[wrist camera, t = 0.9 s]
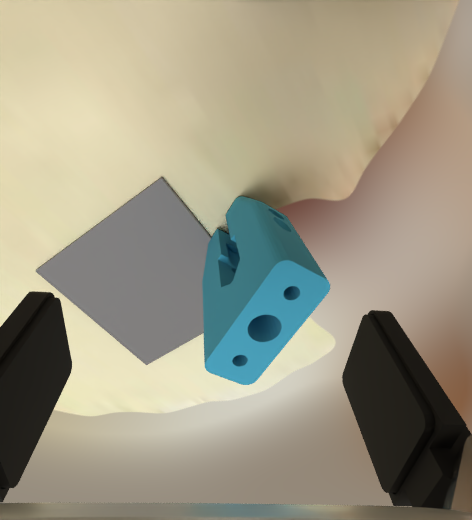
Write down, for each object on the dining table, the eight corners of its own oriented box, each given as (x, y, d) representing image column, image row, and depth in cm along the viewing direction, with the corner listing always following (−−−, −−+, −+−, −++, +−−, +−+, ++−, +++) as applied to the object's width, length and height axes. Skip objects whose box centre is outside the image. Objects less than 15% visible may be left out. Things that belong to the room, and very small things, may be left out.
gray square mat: (162, 176, 42) (161, 178, 41) (260, 297, 51) (261, 299, 51) (37, 268, 48) (35, 271, 47) (147, 362, 57) (146, 365, 57)
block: (230, 273, 48) (250, 387, 31) (198, 258, 47) (200, 369, 29) (279, 200, 44) (335, 283, 27) (246, 181, 43) (281, 255, 25)
